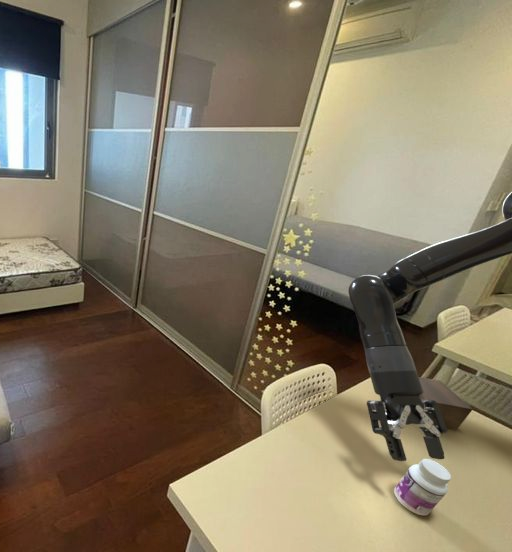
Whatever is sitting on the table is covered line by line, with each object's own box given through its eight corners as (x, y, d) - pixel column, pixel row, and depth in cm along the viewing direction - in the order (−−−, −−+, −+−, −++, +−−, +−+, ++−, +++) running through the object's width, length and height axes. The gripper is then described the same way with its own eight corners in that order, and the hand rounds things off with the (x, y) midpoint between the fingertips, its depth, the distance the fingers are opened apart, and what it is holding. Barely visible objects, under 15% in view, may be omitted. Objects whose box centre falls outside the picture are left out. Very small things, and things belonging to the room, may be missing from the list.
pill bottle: (394, 481, 65) (418, 449, 61) (429, 502, 61) (456, 470, 57) (391, 500, 61) (416, 466, 57) (427, 523, 58) (456, 490, 54)
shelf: (427, 400, 89) (440, 380, 86) (457, 429, 80) (473, 409, 77) (388, 393, 90) (400, 373, 87) (414, 421, 81) (428, 401, 78)
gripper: (379, 368, 61) (407, 465, 55) (440, 368, 63) (473, 461, 58) (346, 371, 68) (368, 457, 62) (402, 371, 70) (428, 454, 65)
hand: (418, 459), depth 60 cm, fingers open, 8 cm apart
